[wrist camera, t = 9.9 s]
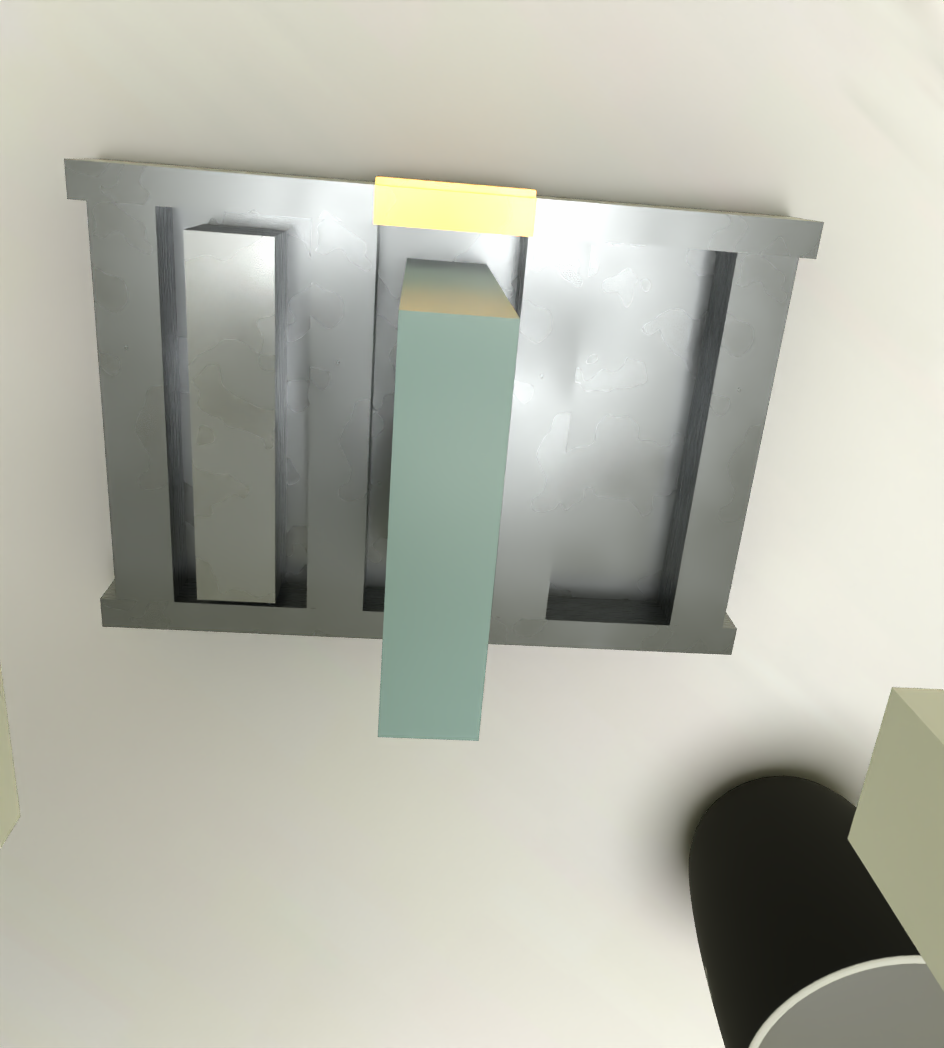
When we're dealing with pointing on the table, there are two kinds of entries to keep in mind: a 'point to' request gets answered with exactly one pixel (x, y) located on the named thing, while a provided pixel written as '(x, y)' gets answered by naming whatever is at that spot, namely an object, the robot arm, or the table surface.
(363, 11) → the table surface
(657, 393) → the rack
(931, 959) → the robot arm
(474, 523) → the block
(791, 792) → the mug
